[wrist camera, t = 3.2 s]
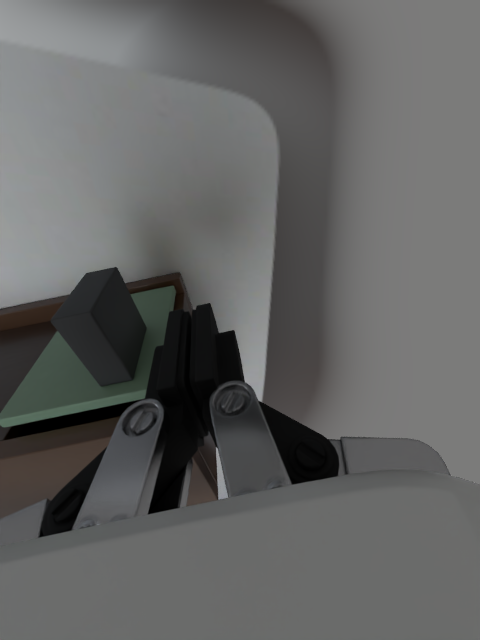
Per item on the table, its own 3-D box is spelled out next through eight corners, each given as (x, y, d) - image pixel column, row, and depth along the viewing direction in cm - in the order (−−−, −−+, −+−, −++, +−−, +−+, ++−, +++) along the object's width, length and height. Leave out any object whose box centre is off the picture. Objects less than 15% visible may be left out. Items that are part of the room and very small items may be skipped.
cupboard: (-26, 314, 20) (-233, 488, 10) (180, 271, 20) (162, 406, 10) (55, 397, 26) (-26, 553, 17) (211, 365, 26) (218, 502, 17)
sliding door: (40, 254, 17) (-90, 359, 9) (154, 230, 17) (117, 316, 9) (78, 311, 19) (3, 428, 12) (176, 291, 19) (161, 395, 12)
